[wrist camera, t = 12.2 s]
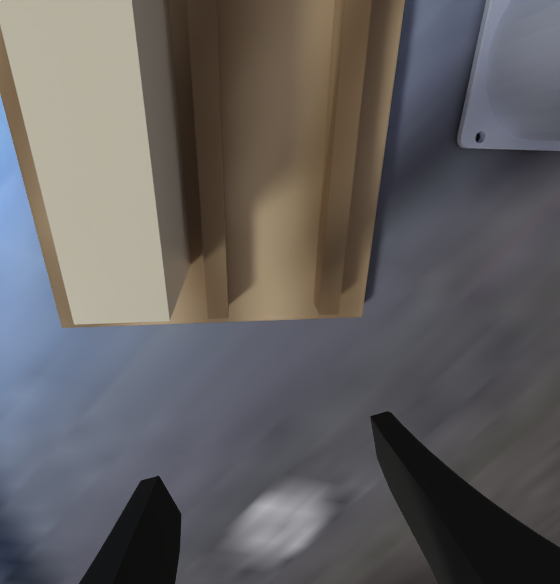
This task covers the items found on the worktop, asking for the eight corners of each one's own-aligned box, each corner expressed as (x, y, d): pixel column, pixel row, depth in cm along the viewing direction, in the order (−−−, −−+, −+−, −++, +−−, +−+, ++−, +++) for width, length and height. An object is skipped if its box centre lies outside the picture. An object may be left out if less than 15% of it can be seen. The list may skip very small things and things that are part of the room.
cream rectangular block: (164, -55, 12) (104, -227, 6) (191, 264, 17) (169, 321, 11) (74, -64, 12) (-69, -254, 6) (128, 265, 16) (74, 324, 11)
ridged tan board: (409, -108, 13) (446, -162, 11) (355, 309, 20) (371, 329, 18) (-51, -168, 11) (-125, -250, 9) (70, 318, 18) (46, 343, 16)
